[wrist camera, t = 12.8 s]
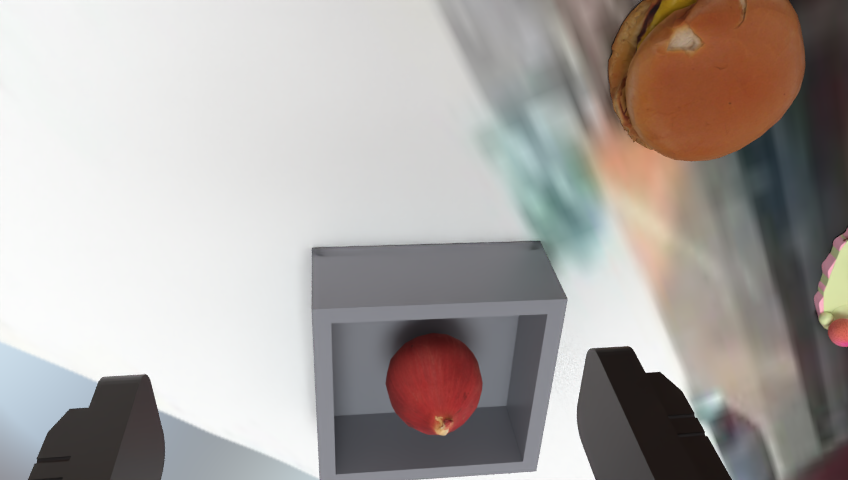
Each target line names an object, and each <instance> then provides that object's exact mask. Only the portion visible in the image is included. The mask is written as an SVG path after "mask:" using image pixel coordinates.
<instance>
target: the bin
mask: <svg viewBox="0 0 848 480" xmlns="http://www.w3.org/2000/svg"><path fill="white" fill-rule="evenodd" d="M566 305H567V297H566V295H565V293H564V291H563V288H562V286H561V284H560V282H559V280H558V278H557V276H556V274H555V272H554V270H553V267H552V265H551V263H550V261H549V259H548V257H547V255H546V253H545V251H544V249H543V246H542V244H541V242H540V241H530V242H496V243H463V244H429V245H395V246H362V247H328V248H312V326H313V347H314V369H315V390H316V412H317V433H318V454H319V476H320V480H418V479H433V478H447V477H461V476H475V475H489V474H504V473H518V472H532V471H536V469H537V464H538V458H539V453H540V447H541V442H542V436H543V431H544V426H545V420H546V415H547V409H548V404H549V398H550V393H551V387H552V382H553V376H554V371H555V365H556V360H557V354H558V349H559V343H560V338H561V332H562V327H563V321H564V316H565V310H566ZM430 333H438V334H447V335H450V336H452V337H454V338H456V339H458V340H460V341H461V342H463V343H464V344H465V345H466V346H467V347H468V348H469V349H470V350H471V351H472V352H473V354H474V355H475V357H476V359H477V361H478V364H479V368H480V373H481V377H482V382H483V385H482V392H481V396H480V400H479V403H478V406H477V408H476V410H475V411H474V412H473V414H472V415H471V416H470V417H469V418H468V420H467V421H466V422H465V423H464V424H463V425H462V426H460V427H459V428H458V429H456V430H455V431H453V432H450V433H448V434H447V435H427V434H424V433H422V432H420V431H418V430H415V429H413V428H411V427H409V426H408V425H407V424H406V423H405V422H404V421H403V420H402V419H401V418H400V417H399V416H398V415H397V414H396V413H395V411H394V409H393V407H392V405H391V402H390V399H389V395H388V392H387V388H386V384H385V383H386V376H387V371H388V367H389V363H390V360H391V358H392V357H393V356H394V355H395V353H396V352H397V351H398V350H399V349H400V348H401V347H402V346H403V345H404V344H405V343H406V342H408V341H410V340H412V339H414V338H416V337H418V336H422V335H426V334H430Z"/></svg>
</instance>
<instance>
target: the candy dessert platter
mask: <svg viewBox="0 0 848 480" xmlns="http://www.w3.org/2000/svg"><path fill="white" fill-rule="evenodd" d="M822 271H823V274H822V277H821V280H820V282H819V285H818V292H817V293H816V295H815V296H814V302H815V306H816V310H817V314H818V318H819V322H820V323H821V325H822V326H823V327H824V328H826V329H828V336H829V338H830V339H831V341H832V342H833V343H835V344H836V345H838V346H843V347H848V228H847V230H846V232H845V233H844V234H842V235H840V236H838V237H837V238H835V240H834V241H833V247H832V250H831V252H830V253H829V255H828V256H827V258H826V260H825V261H824V262H823V263H822Z"/></svg>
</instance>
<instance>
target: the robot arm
mask: <svg viewBox="0 0 848 480" xmlns="http://www.w3.org/2000/svg"><path fill="white" fill-rule="evenodd" d="M577 424H578V431H579V435H580V439H581V442H582V444H583V447H584V450H585V453H586V455H587V458H588V461H589V463H590V466H591V469H592V471H593V474H594V477H595V479H596V480H732V479H731V477H730V476H729V474H728V472H727V470H726V468H725V467H724V465H723V463H722V461H721V460H720V458H719V456H718V454H717V453H716V451H715V449H714V447H713V445H712V444H711V442H710V440H709V438H708V437H707V436H705V431H704V429H703V428H702V426H701V424H700V422H699V421H698V419H697V418H695V416H694V412H693V410H692V408H691V406H690V405H689V403H688V401H687V399H686V398H685V396H684V394H683V392H682V391H681V390H680V389H679V388H678V387H677V386H675V385H674V384H673V383H672V382H671V381H670V380H669V379H667V378H666V377H665V376H664V375H663V374H662V373H661V372H653V373H645V371H644V369H643V367H642V365H641V364H640V362H639V360H638V358H637V356H636V354H635V352H634V351H633V349H632V348H631V347H629V346H624V347H608V348H592V349H589V350H588V352H587V355H586V360H585V365H584V371H583V377H582V382H581V388H580V393H579V399H578V405H577ZM164 459H165V442H164V434H163V429H162V426H161V421H160V418H159V413H158V409H157V405H156V401H155V397H154V393H153V389H152V385H151V381H150V379H149V377H148V375H146V374H143V375H127V376H110V377H102V378H101V379H100V381H99V382H98V384H97V387H96V390H95V393H94V395H93V398H92V401H91V403H90V406H89V408H77V409H69V411H67V412H66V414H65V415H64V416H63V417H62V418H61V419H60V420H59V421H58V422H57V423H56V424H55V425H54V426H53V427H52V428H51V430H50V431H49V432H48V433H47V436H46V438H45V440H44V443H43V445H42V448H41V450H40V452H39V455H38V457H37V463H36V464H34V467H33V469H32V472H31V474H30V476H29V479H28V480H161V476H162V472H163V467H164Z"/></svg>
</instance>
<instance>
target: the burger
mask: <svg viewBox="0 0 848 480" xmlns="http://www.w3.org/2000/svg"><path fill="white" fill-rule="evenodd" d="M612 50H613V53H612V56H611V58H610V59H609V67H608V74H609V83H610V94H611V98H612V102H613V107H614V111H615V112H616V114H617V115H618V117H619V118H620V121H621V124H622V126H623V127H624V130H626V131H628V134H629V136H630V137H631V138H632V139H633V142H635V141H636V142H637V143H639V144H641V145H642V146H644V147H646V148H648V149H651V150H653V149H654V150H655V151H657V152H658V153H660V154H662V155H664V156H666V157H669V158H671V159H674V160H683V161H706V160H712V159H716V158H720V157H722V156H725V155H727V154H730V153H732V152H735V151H738V150H740V149H741V148H743V147H744V146H746V145H748V144H749V143H751V142H752V141H754V140H756V139H757V138H759V137H760V136H761V135H763V134H764V133H765V132H766V131H767V130H768V129H769V128H771V127H772V126H773V125H774V124H775V123H776V122H778V121H779V120H780V119H781V118H782V116H783V115H784V113H785V112H786V111H787V109H788V108H789V107H790V105H791V104H792V102H793V101H794V99H795V97H796V96H797V94H798V92H799V91H800V87H801V83H802V79H803V76H804V70H805V51H804V44H803V38H802V32H801V26H800V23H799V20H798V15H797V14H796V12H795V10H794V9H793V7H792V5H791V3H790V2H789V0H644V1H642V2H641V3H640V4H639V5H638V6H637V7H636V8H635V9H634V10H633V11H632V12H631V13H630V14H629V15H628V16H627V18H626V19H625V21H624V22H623V24H622V26H621V28H620V30H619V32H618V34H617V36H616V38H615V41H614V43H613V45H612Z"/></svg>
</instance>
